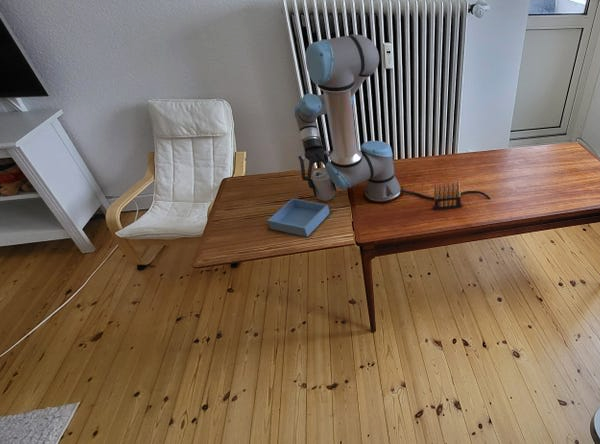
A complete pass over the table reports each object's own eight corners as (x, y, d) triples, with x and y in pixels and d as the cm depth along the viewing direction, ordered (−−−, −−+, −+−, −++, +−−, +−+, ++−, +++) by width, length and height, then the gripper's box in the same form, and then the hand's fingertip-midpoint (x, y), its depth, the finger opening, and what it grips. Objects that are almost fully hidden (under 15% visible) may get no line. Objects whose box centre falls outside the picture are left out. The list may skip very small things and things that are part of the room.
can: (319, 192, 162) (312, 168, 155) (336, 191, 162) (330, 167, 155) (316, 202, 156) (308, 178, 149) (334, 201, 157) (327, 176, 149)
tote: (330, 212, 151) (327, 204, 148) (307, 236, 139) (304, 228, 137) (295, 206, 155) (292, 198, 152) (270, 228, 143) (267, 220, 141)
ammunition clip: (460, 204, 153) (460, 179, 146) (460, 207, 152) (461, 182, 144) (434, 207, 152) (433, 182, 145) (435, 209, 151) (433, 184, 143)
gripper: (336, 139, 162) (350, 189, 161) (287, 148, 157) (301, 200, 155) (335, 133, 155) (350, 185, 153) (284, 142, 149) (298, 196, 148)
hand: (325, 192), depth 154 cm, fingers closed on can, 7 cm apart
